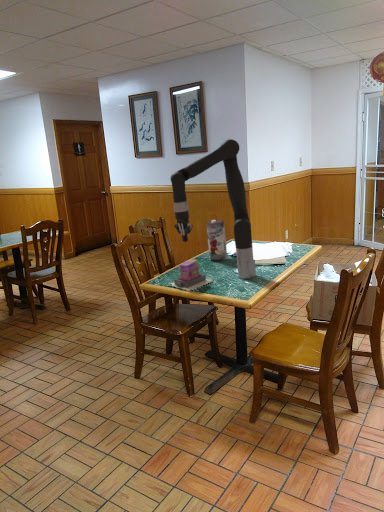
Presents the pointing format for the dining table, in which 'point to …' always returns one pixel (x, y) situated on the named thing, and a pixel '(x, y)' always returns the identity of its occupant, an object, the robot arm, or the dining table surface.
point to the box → (189, 270)
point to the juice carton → (216, 240)
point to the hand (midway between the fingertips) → (185, 241)
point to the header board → (191, 282)
